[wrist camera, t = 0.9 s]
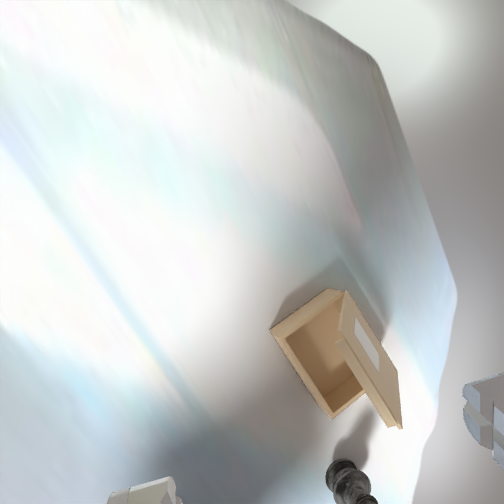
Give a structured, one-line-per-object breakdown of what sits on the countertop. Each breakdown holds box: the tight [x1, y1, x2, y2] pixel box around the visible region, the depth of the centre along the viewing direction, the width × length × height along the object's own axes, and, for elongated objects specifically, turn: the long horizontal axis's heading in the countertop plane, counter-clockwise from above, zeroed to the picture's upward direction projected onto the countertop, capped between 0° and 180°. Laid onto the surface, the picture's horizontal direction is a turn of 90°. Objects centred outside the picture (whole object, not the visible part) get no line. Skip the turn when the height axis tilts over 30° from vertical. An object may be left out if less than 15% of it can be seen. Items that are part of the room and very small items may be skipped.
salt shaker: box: [326, 459, 378, 504], centre depth 51 cm, size 6×6×12 cm
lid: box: [334, 290, 403, 430], centre depth 47 cm, size 14×12×1 cm
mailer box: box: [269, 288, 365, 419], centre depth 54 cm, size 14×11×5 cm
